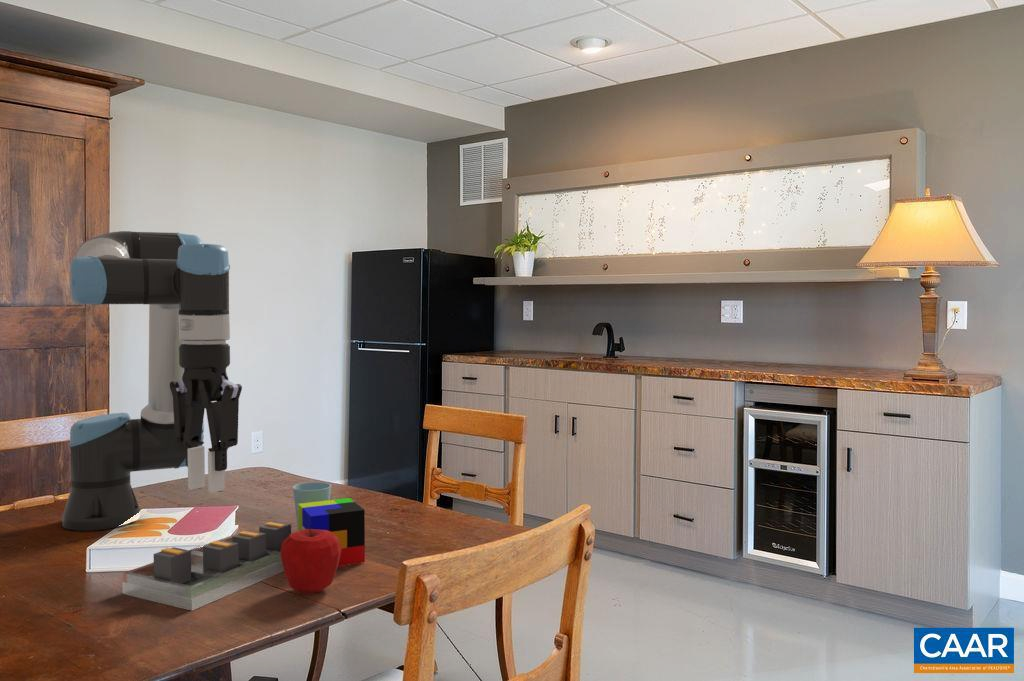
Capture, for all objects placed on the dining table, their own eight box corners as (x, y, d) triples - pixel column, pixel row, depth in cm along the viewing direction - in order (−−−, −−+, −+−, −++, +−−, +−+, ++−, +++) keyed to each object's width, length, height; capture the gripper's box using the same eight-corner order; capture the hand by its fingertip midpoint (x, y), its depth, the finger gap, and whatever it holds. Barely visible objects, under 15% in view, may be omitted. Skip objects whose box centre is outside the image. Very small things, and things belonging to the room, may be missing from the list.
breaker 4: (259, 553, 144) (259, 525, 144) (274, 547, 148) (274, 520, 148) (276, 557, 143) (275, 528, 142) (291, 550, 146) (291, 522, 146)
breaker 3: (232, 564, 139) (232, 534, 138) (249, 557, 142) (248, 528, 142) (249, 567, 137) (249, 537, 137) (266, 561, 140) (265, 531, 140)
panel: (122, 593, 130) (122, 572, 130) (240, 550, 154) (240, 532, 153) (191, 610, 123) (191, 588, 123) (304, 562, 146) (304, 543, 146)
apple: (284, 605, 125) (283, 538, 125) (276, 585, 134) (276, 522, 134) (346, 596, 129) (346, 531, 129) (335, 578, 138) (334, 516, 138)
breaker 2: (203, 575, 133) (202, 544, 132) (221, 568, 136) (221, 538, 136) (220, 579, 131) (220, 548, 131) (238, 572, 135) (238, 541, 134)
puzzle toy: (310, 570, 142) (310, 516, 142) (298, 555, 151) (298, 503, 150) (364, 562, 147) (364, 509, 146) (349, 548, 156) (349, 497, 155)
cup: (335, 538, 161) (334, 488, 161) (296, 542, 158) (296, 491, 158) (327, 528, 168) (327, 480, 168) (291, 532, 165) (290, 483, 165)
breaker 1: (154, 584, 129) (153, 552, 128) (174, 576, 132) (173, 545, 132) (171, 588, 127) (170, 555, 127) (191, 580, 130) (190, 548, 130)
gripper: (147, 342, 125) (149, 488, 126) (225, 344, 117) (227, 500, 118) (185, 340, 131) (188, 479, 132) (262, 342, 124) (263, 489, 125)
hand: (206, 488), depth 125 cm, fingers open, 4 cm apart
